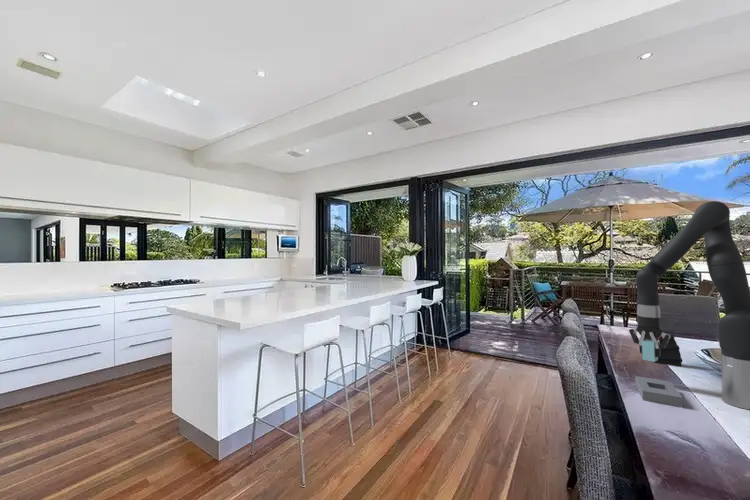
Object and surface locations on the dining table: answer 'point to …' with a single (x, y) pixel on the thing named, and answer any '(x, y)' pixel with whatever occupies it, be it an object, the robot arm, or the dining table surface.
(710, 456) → the dining table surface
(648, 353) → the teal rectangular block
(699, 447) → the dining table surface
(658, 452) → the dining table surface
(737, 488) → the dining table surface
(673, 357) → the black ridged block
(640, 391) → the grey slotted block
